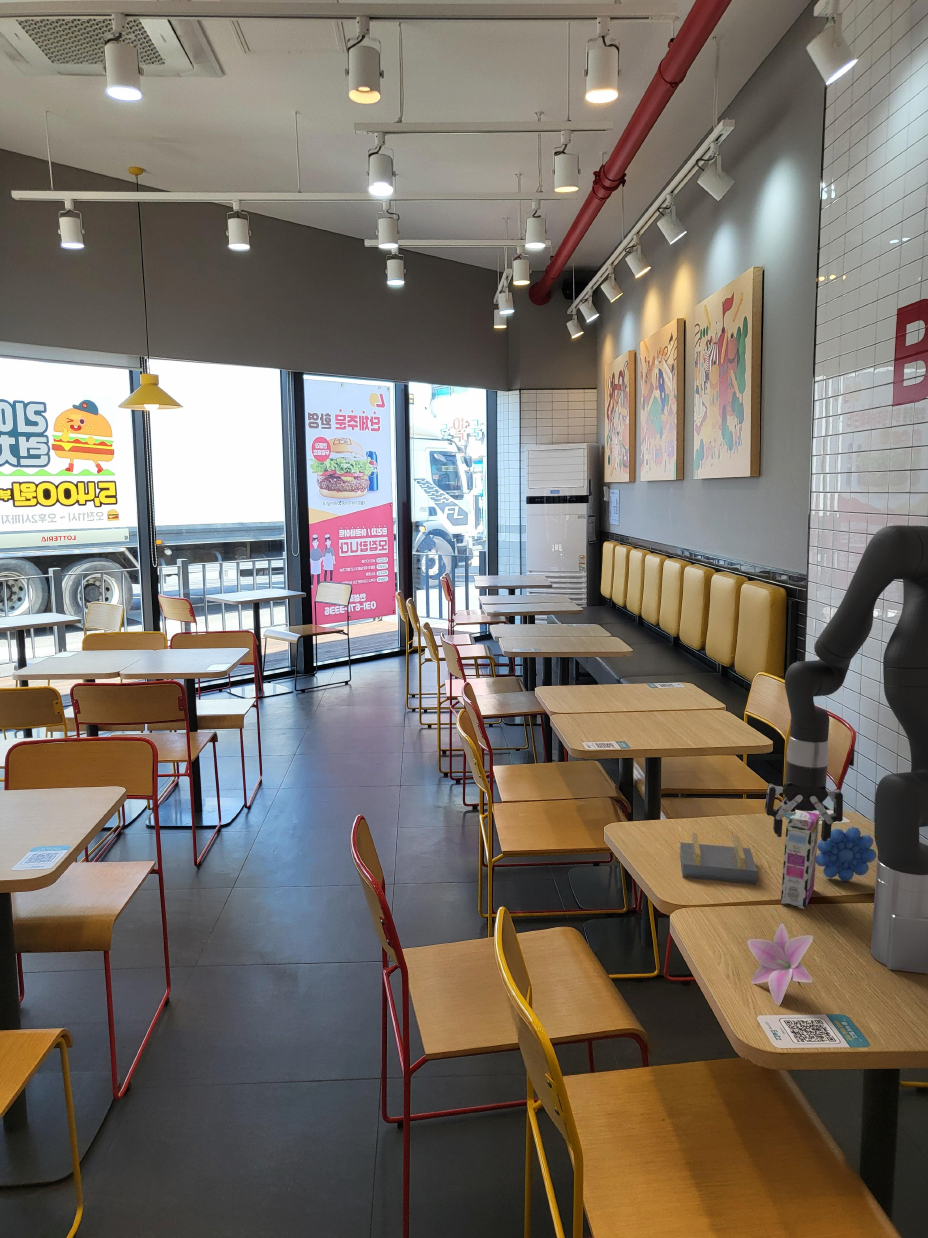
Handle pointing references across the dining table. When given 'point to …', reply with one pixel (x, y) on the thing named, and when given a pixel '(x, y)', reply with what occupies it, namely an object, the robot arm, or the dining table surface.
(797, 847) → the candy bar box
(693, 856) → the dock
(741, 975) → the dining table surface
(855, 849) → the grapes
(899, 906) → the robot arm
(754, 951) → the lily
